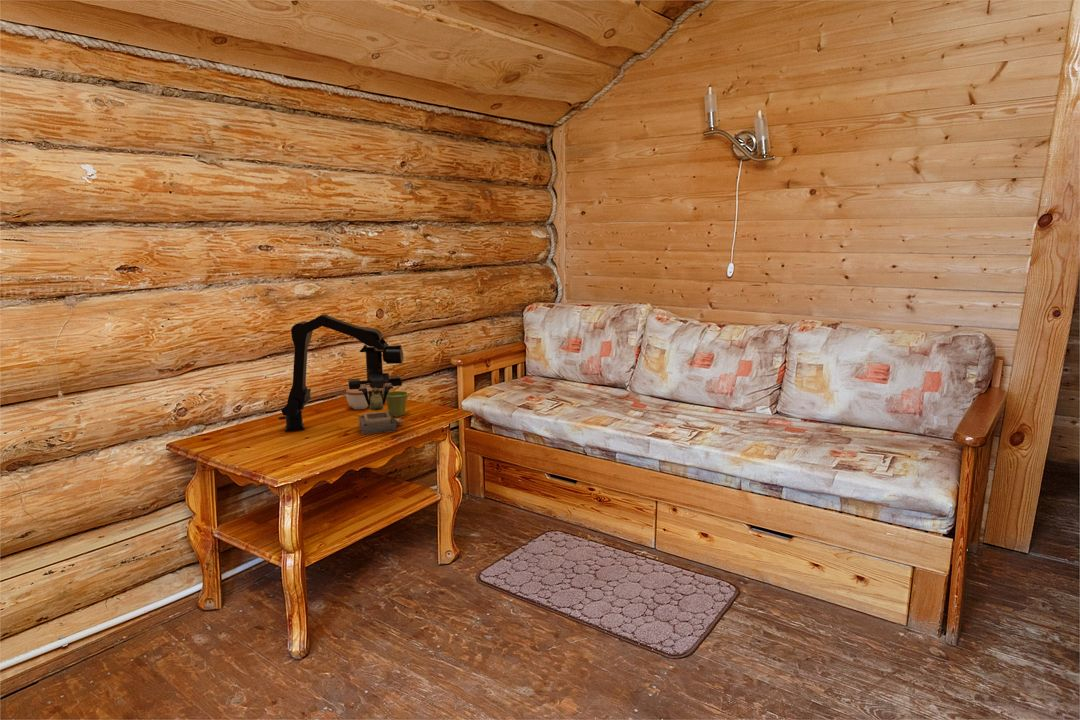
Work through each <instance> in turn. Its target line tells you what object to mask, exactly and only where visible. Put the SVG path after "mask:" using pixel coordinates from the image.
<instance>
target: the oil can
mask: <svg viewBox="0 0 1080 720" xmlns="http://www.w3.org/2000/svg"><path fill="white" fill-rule="evenodd" d="M368 407H369V411H373V412H374V411H376V412H377V411H378V412H379V411H382V410H384V405H383V388H379V387H375V388H372V389H371V390H369V406H368Z"/></svg>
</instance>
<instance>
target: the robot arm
mask: <svg viewBox="0 0 1080 720" xmlns="http://www.w3.org/2000/svg"><path fill="white" fill-rule="evenodd" d="M322 327H324V328H327V329H330V330H332V331H336V332H338V333H341V334H344V335H347V336H350V337H353V338H354V339H356V340H358V341H359V342H360V343H362V344H364V345H363V346H362V348H361V349H359V352H360V353H365V367H366V379H365V380H360V377H359V378H357V377H356V378H349V379H348V381H347V382H348V384H347V385H348V388H349V389H358V390H359V391H362V392H363V394H364V396H365V398H366V401H367V404H368V407H369V398H368V393H367V388H366V387H368V386H369V387H371V388H372V389H374V388H379V389H382V390H383V406H384V405H385V404H386V402H387V401H386V397H387V394H388V392H390V390H392V389H393V388H394V387H402V386H403V380H402V378H401V376H400V375H391V376H390V373H389V372H383V371H384V369H383V362H384V363H385V364H388V365H389V364H390V365H392V364H393V365H394V364H397V365H398V364H399V365H401V364H403V362H404V351H403V348H402V346H403V345H402V344H396V345H389V344H388V342H387V341H386V340H385V339H384V337H383V333H382V332H381V331H380V330H379V329H377V328H374V327H368V326H359V325H355V324H353V323H349V322H347V321H344V320H342V319H338V318H336V317H333V316H330V315H328V314H326V313H323V314H320V315H319V316H316V318H313V319H310V320H309V321H306V320H305V321H304V320H302V321H299V322H297V323H295V324H294V325H292V327H291V328H290V329H291V330H290V333H291V334H290V335H291V340H292V344H293V345H294V346H293V347H294V351H293V352H294V356H293V372H292V374H293V375H292V386H291V389H290V390H289V392H288V393H289V394H288V397H287V401H286V403H287V404H285V406H284V407H282V408H281V409H280V410H281V413H282V415H283V416H285V426H284V427H285V429H284V431H285V432H291V431H293V432H294V431H302V430H305V423H303V411H302V410H304V408H305V406H306V405H307V404H308V403H309V401H310V400H311V391H312V389H311V388H308V387H307V384H306V383H307V382H306V381H307V368H308V367H307V366H308V365H307V364H308V349H309V348H308V347H309V345H310V342H311V339H312V335H313V332H314V331H316V330H318V329H319V328H322Z"/></svg>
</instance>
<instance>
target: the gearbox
mask: <svg viewBox="0 0 1080 720" xmlns="http://www.w3.org/2000/svg"><path fill="white" fill-rule="evenodd" d="M358 421H359V423H358V424H359V426H360V430H361V434H362V436H363V435H370V434H371V435H372V434H379V433H380V434H382V433H393V432H397V425H402V424H403V418H395V417H394V416H392V413H389V411H380V412H379V411H378V412H377V411H376V412H370V413H369V412H368V413H363V414H362V415H360V416H358Z"/></svg>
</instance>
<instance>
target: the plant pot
mask: <svg viewBox="0 0 1080 720" xmlns="http://www.w3.org/2000/svg"><path fill="white" fill-rule="evenodd" d="M408 395H409V392H408V391H405V390H403V391H402V390H392V391H389V392H388V394H387V397H386V401H385V402H386V405H387V410H388V411H387V412H388V413H392V416H393V418H395V417H401V416H404V415H405V414H406V406H407V405H406V403H407V398H408Z"/></svg>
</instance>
